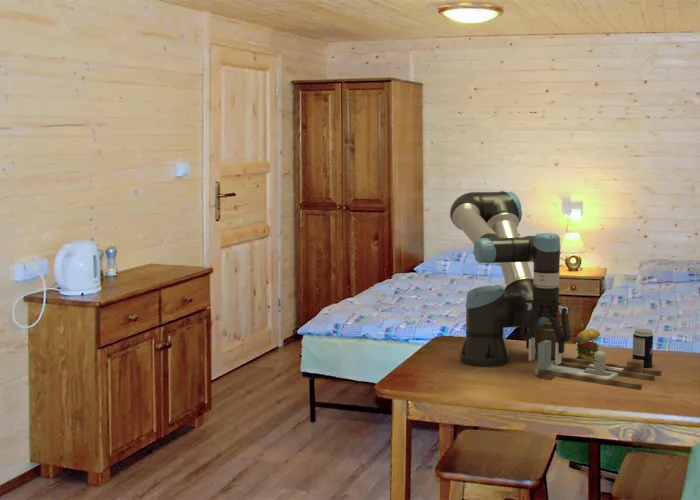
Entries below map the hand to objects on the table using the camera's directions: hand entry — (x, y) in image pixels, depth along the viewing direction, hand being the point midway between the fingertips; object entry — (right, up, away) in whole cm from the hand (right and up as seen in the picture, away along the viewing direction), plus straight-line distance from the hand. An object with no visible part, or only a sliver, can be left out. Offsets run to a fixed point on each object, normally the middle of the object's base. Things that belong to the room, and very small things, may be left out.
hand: (544, 361), depth 269 cm
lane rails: (+14, -4, -7) cm, 16 cm away
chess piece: (+14, -5, -10) cm, 17 cm away
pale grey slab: (+8, -4, -5) cm, 10 cm away
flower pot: (+5, -1, +20) cm, 20 cm away
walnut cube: (+25, -3, -7) cm, 26 cm away
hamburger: (+16, -2, +13) cm, 21 cm away
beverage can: (+30, -3, +3) cm, 30 cm away
